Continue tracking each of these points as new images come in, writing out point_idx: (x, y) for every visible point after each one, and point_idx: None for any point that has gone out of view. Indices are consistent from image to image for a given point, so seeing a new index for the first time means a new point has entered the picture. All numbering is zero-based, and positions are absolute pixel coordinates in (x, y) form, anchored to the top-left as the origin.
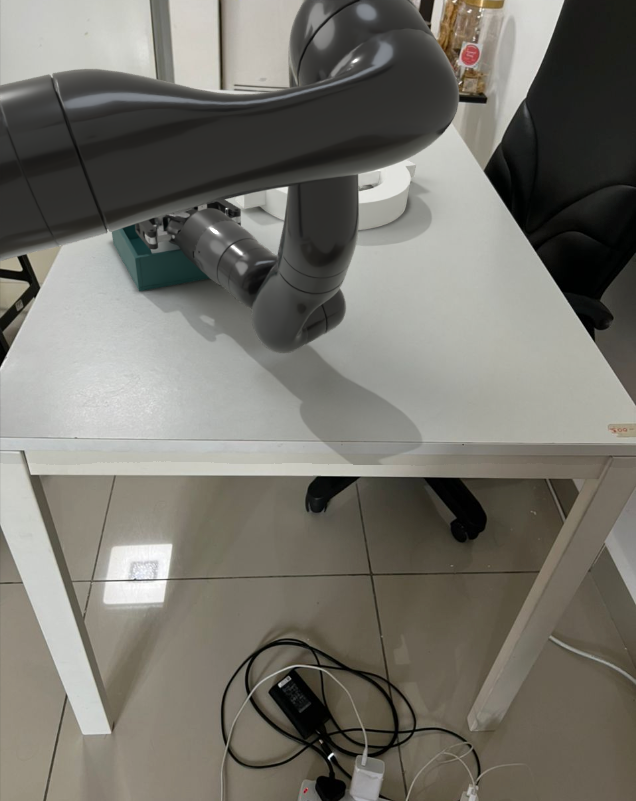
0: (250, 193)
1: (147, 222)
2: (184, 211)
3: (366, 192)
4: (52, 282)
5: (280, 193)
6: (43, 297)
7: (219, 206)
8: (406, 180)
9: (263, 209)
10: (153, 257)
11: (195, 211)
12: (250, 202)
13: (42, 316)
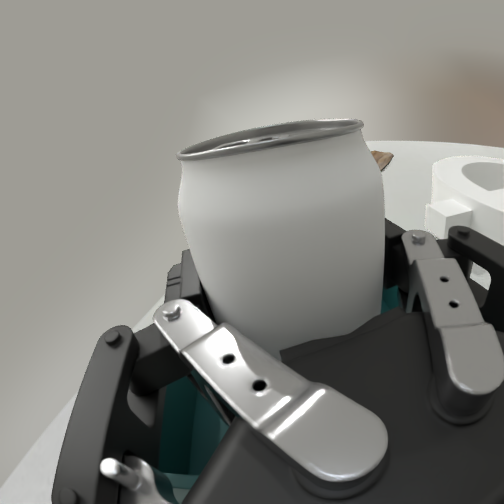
0: (454, 215)
1: (98, 417)
2: (348, 311)
3: None
4: (70, 403)
5: (501, 215)
6: (43, 433)
7: (471, 267)
8: None
9: None
10: (188, 490)
11: (410, 330)
12: None
13: (22, 474)
